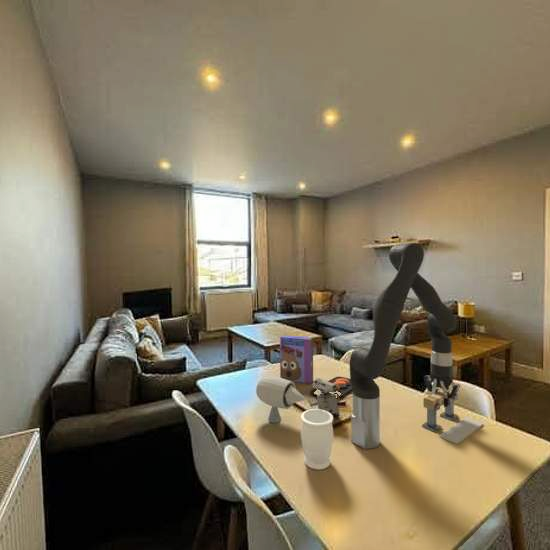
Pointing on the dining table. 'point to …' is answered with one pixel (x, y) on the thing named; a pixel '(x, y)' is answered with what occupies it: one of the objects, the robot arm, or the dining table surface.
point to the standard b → (450, 410)
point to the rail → (435, 400)
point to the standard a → (432, 420)
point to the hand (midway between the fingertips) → (440, 404)
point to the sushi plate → (340, 385)
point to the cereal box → (296, 359)
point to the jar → (317, 437)
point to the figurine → (326, 396)
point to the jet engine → (277, 395)
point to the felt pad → (461, 430)
